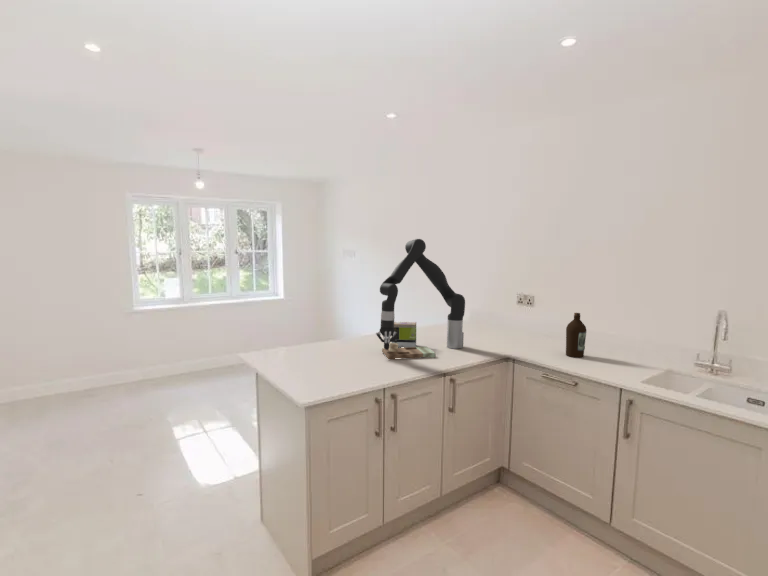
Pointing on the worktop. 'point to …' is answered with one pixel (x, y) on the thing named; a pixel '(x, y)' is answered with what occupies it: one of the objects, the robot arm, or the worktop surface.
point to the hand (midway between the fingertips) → (386, 349)
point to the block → (393, 347)
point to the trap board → (409, 352)
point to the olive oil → (575, 337)
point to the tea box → (405, 334)
